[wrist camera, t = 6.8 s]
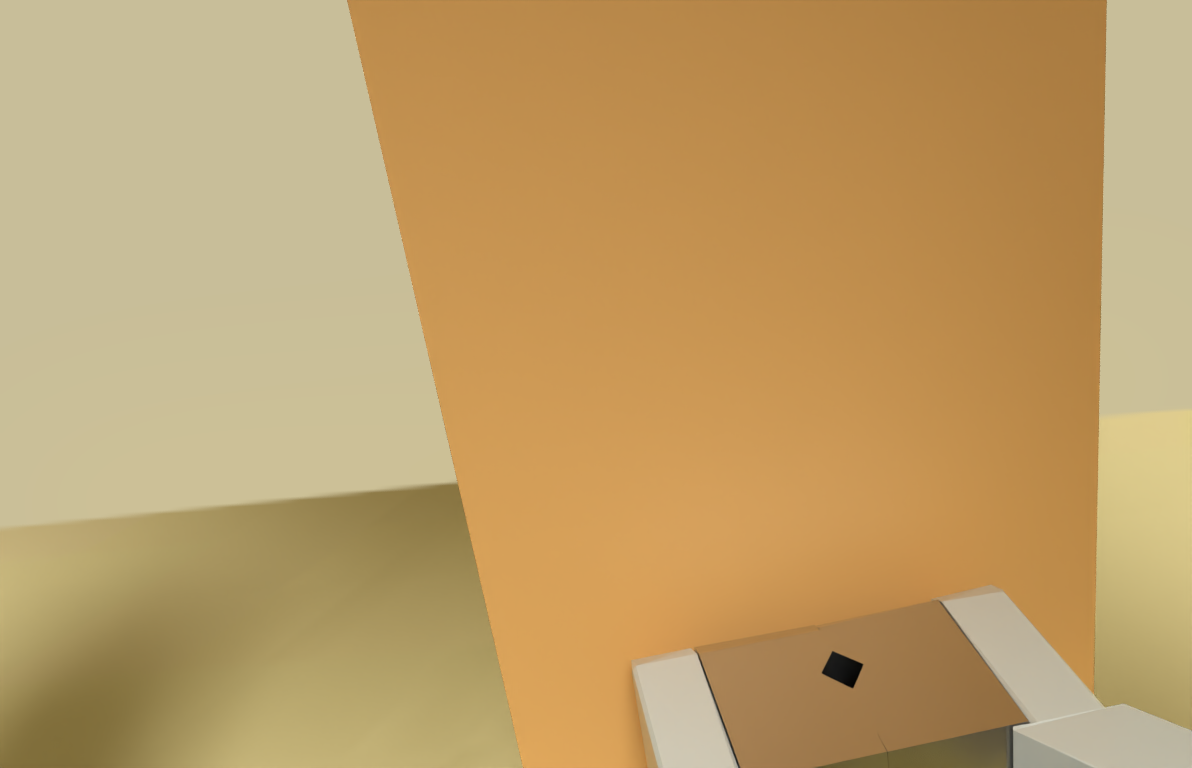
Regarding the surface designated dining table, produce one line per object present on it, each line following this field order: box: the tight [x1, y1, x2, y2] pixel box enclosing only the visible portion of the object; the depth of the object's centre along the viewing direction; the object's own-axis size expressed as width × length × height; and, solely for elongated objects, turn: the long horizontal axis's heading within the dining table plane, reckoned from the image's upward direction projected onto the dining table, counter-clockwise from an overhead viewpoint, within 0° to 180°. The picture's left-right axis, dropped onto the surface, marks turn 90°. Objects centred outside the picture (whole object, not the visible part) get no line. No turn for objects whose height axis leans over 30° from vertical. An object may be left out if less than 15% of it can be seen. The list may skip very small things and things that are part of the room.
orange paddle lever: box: [347, 0, 1107, 768], centre depth 10 cm, size 5×2×13 cm, turn 97°
